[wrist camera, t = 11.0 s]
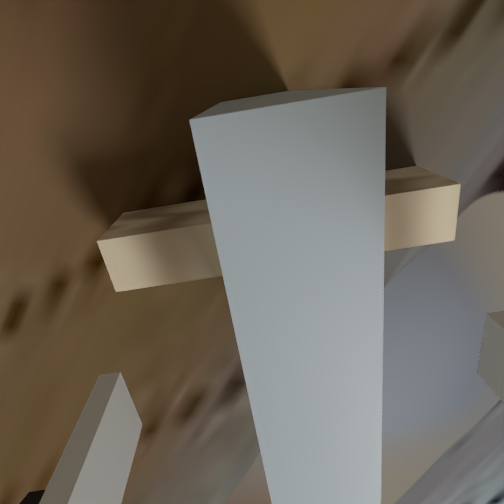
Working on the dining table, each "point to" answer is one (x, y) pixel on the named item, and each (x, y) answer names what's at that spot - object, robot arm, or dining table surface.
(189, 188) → the dining table surface
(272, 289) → the grey board
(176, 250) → the maple rail
